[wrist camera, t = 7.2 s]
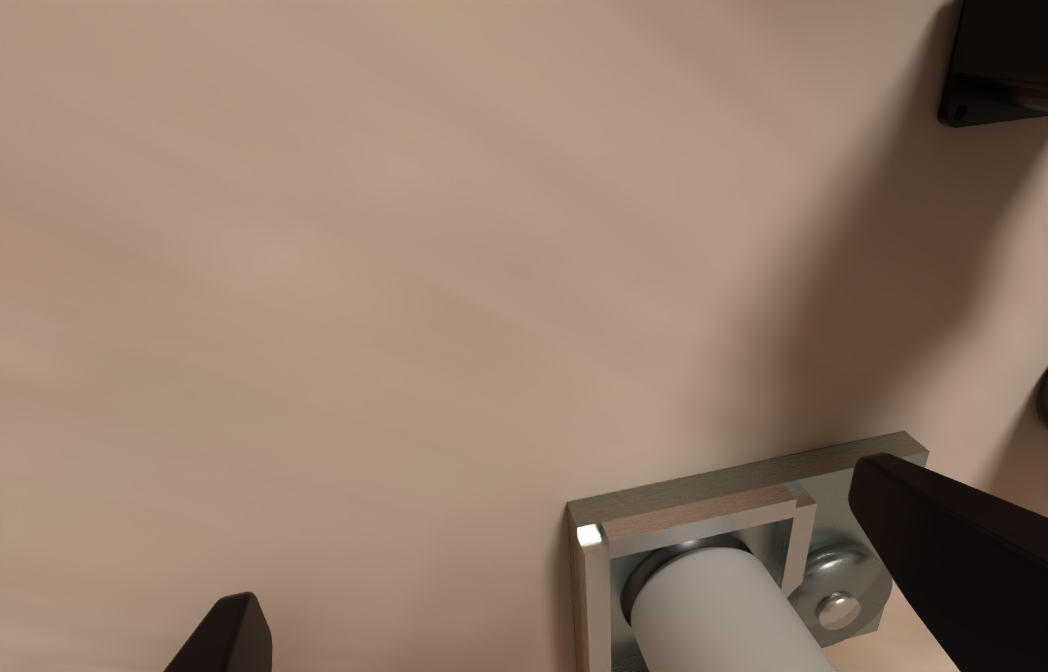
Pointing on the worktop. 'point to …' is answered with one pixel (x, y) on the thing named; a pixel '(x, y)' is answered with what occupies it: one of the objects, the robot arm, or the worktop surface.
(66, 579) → the worktop surface
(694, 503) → the grey flat piece
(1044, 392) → the supplement bottle
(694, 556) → the beverage can
